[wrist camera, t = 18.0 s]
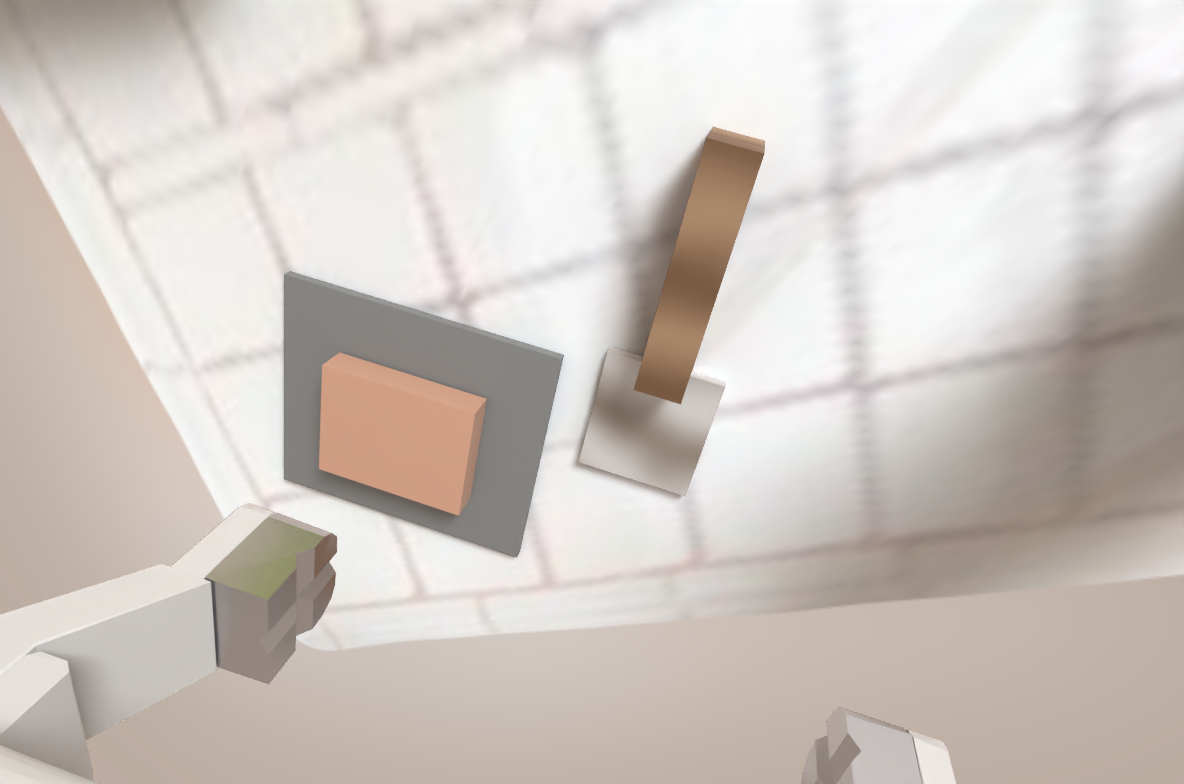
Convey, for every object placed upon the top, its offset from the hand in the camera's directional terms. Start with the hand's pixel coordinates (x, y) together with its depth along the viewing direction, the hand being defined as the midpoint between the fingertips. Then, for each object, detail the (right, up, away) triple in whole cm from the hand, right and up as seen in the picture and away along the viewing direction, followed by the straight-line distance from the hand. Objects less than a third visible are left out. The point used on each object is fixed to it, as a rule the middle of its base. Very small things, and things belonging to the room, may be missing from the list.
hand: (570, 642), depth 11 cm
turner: (+5, +8, +28) cm, 30 cm away
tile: (-11, +5, +32) cm, 34 cm away
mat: (-12, +2, +35) cm, 37 cm away
